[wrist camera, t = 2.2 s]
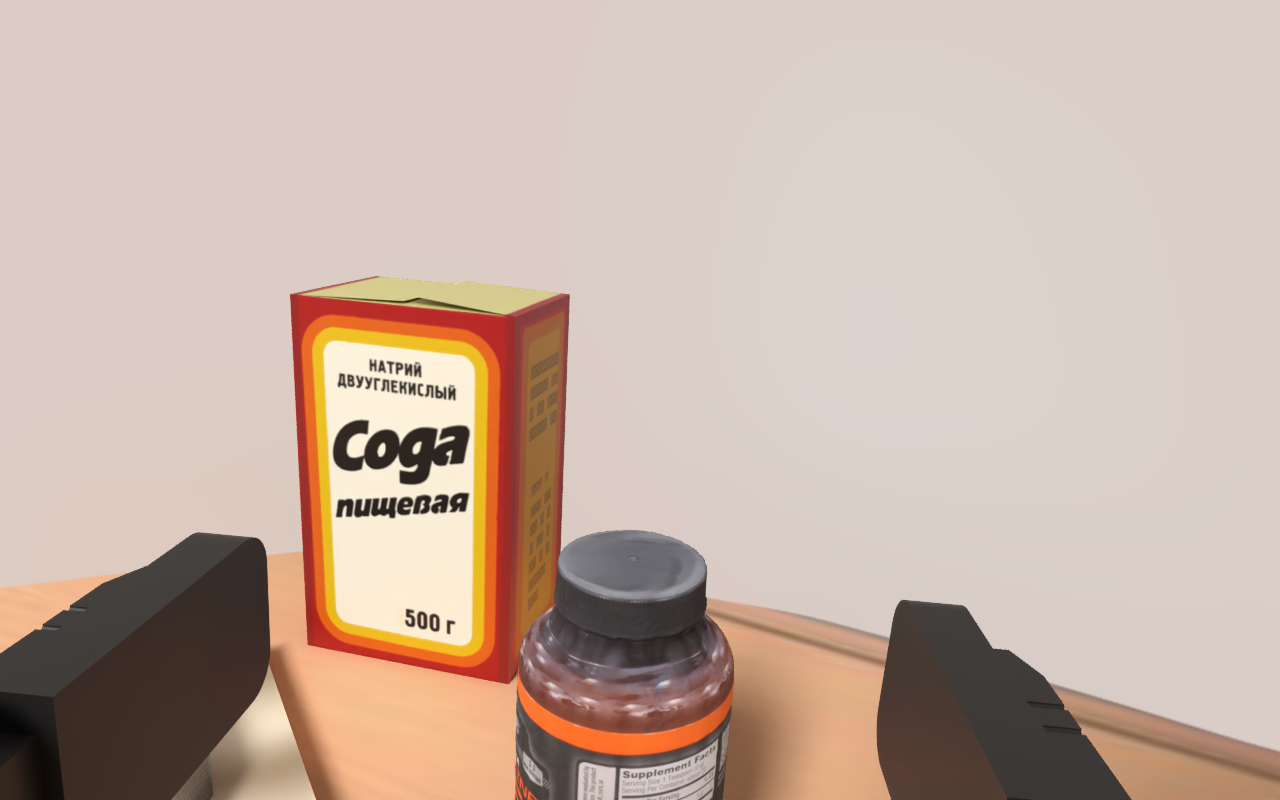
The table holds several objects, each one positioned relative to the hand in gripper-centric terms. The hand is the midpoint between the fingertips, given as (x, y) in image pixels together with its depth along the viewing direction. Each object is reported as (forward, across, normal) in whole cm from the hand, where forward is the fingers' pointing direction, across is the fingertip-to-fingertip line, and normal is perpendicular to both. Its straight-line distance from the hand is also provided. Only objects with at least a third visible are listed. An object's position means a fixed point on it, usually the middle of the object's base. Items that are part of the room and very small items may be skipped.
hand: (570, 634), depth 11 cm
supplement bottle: (+12, 0, +16) cm, 19 cm away
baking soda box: (+26, +9, +16) cm, 32 cm away
